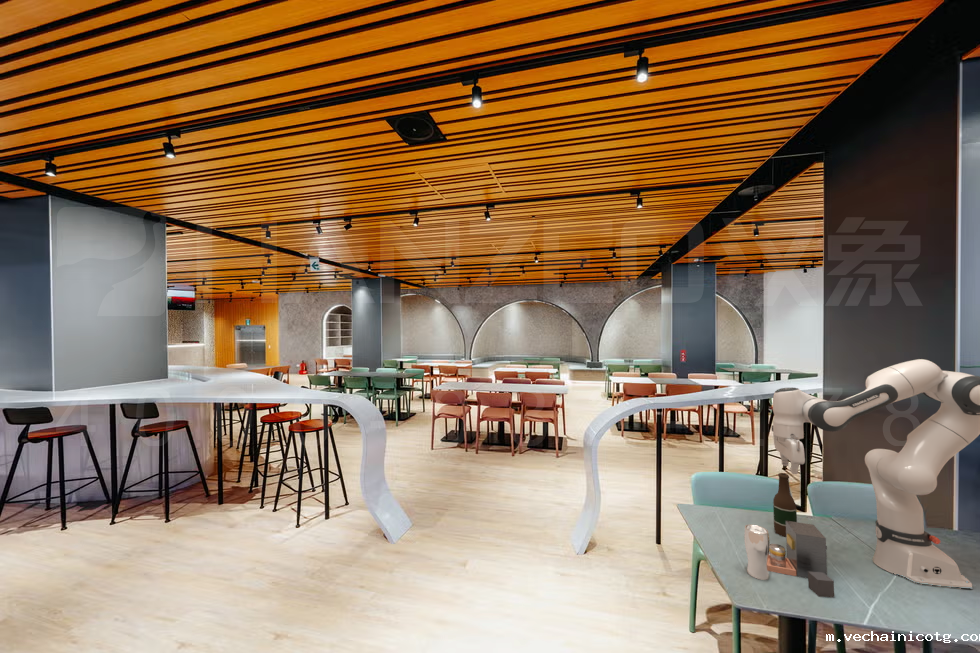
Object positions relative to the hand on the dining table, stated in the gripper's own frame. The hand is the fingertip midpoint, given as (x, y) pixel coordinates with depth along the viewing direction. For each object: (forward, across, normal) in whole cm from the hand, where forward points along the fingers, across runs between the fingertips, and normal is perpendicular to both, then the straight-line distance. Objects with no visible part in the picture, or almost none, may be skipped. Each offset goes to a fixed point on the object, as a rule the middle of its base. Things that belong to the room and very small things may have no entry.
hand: (789, 469), depth 141 cm
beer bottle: (+31, +18, -3) cm, 36 cm away
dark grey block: (+31, -10, -1) cm, 33 cm away
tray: (+31, -11, +7) cm, 34 cm away
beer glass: (+31, -19, +15) cm, 39 cm away
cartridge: (+30, -11, +7) cm, 33 cm away
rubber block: (+31, -22, -1) cm, 38 cm away
